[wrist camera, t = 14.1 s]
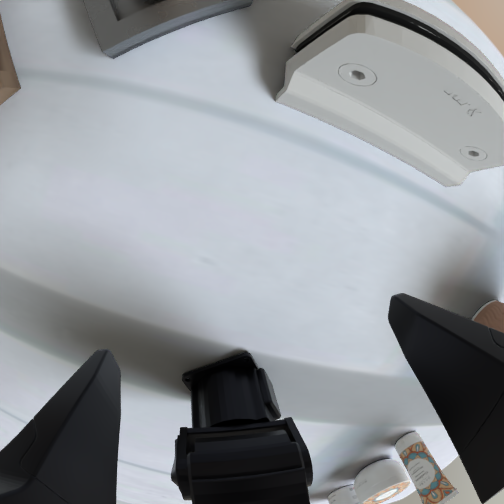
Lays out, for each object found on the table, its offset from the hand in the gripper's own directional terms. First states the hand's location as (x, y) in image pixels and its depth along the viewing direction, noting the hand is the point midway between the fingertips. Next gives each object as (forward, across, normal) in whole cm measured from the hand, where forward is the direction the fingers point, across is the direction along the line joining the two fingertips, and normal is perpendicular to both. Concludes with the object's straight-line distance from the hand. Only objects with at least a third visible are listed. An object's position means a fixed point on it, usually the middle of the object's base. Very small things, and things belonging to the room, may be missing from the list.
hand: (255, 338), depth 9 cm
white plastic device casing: (+14, -13, -6) cm, 20 cm away
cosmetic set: (+13, -18, +49) cm, 53 cm away
